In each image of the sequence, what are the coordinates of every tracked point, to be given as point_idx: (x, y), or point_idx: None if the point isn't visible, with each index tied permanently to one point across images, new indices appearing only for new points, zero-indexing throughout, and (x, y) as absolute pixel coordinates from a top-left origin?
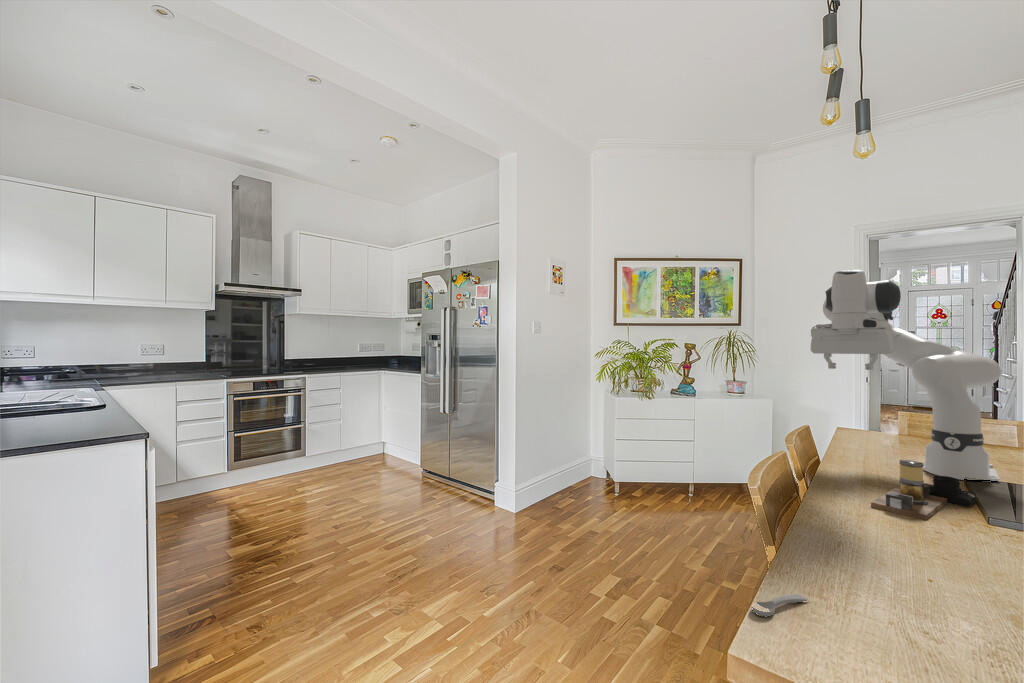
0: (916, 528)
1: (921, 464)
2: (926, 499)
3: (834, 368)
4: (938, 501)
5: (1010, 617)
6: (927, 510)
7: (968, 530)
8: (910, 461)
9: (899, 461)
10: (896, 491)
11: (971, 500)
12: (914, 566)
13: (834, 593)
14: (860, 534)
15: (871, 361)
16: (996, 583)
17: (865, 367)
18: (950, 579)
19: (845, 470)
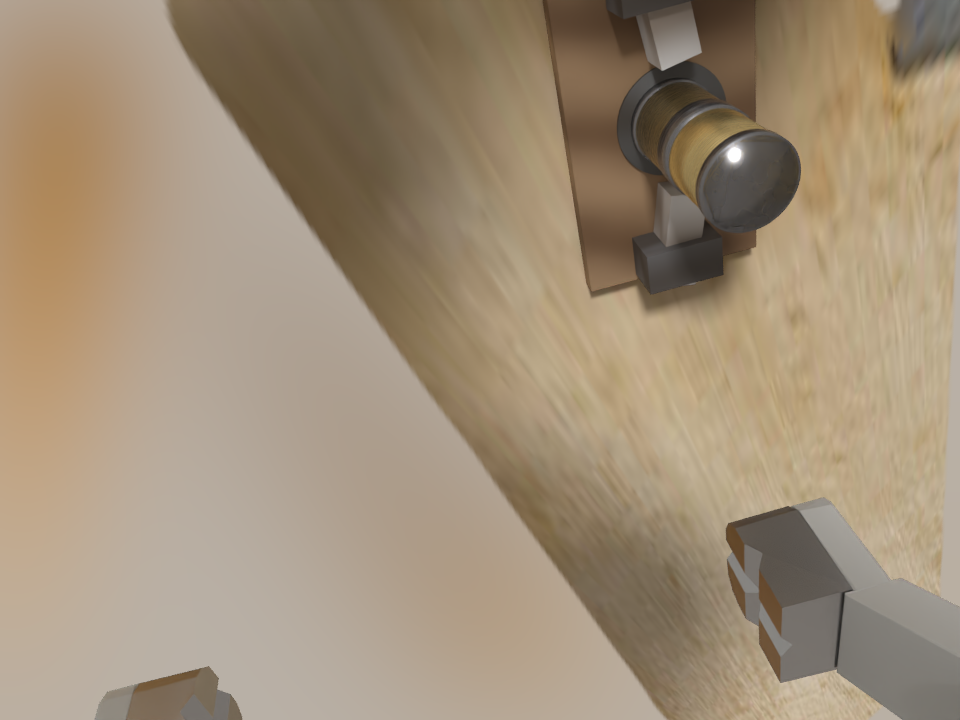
0: (748, 341)
1: (796, 187)
2: (700, 30)
3: (213, 685)
4: (741, 8)
5: (936, 561)
6: None
7: (853, 214)
8: (743, 169)
9: (704, 214)
10: (574, 26)
11: None
12: None
13: (749, 693)
14: (675, 500)
15: (914, 705)
16: (920, 477)
17: (748, 617)
18: (859, 529)
19: None
